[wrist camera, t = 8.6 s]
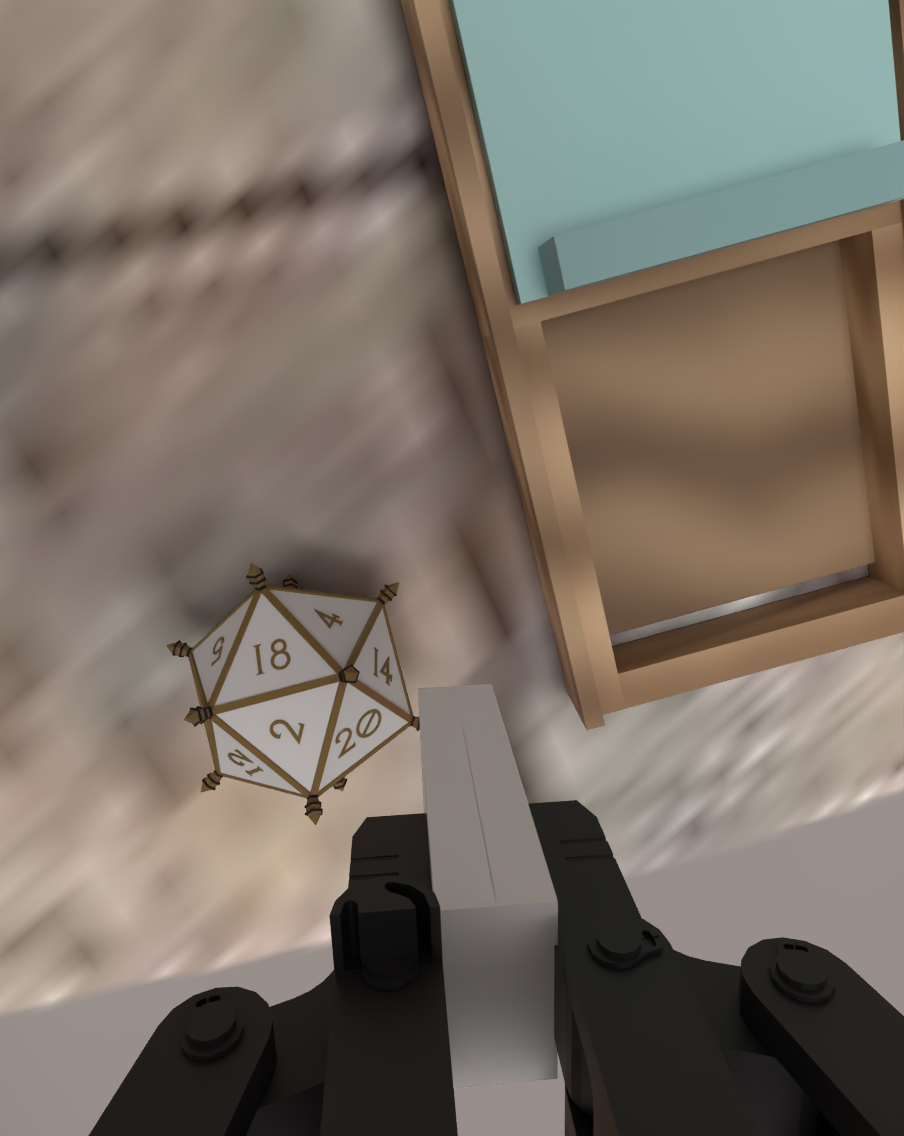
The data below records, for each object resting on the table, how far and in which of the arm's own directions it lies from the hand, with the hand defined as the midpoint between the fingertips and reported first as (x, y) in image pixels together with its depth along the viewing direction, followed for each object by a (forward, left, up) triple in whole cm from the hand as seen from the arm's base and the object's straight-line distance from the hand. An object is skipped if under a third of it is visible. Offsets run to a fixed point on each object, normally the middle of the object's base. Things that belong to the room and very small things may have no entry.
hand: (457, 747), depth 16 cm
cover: (-15, +12, -13) cm, 23 cm away
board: (-8, +12, -15) cm, 21 cm away
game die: (+2, -5, -15) cm, 16 cm away
